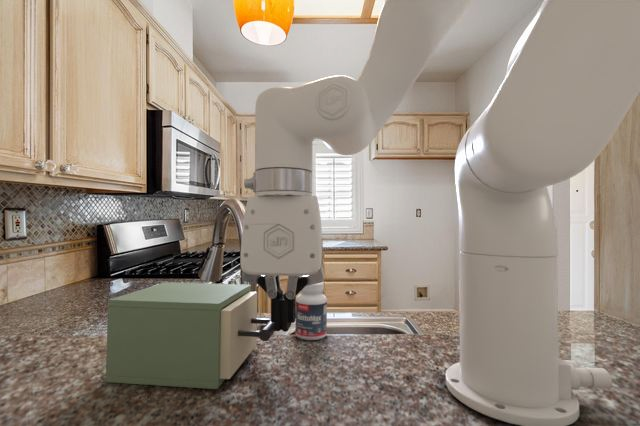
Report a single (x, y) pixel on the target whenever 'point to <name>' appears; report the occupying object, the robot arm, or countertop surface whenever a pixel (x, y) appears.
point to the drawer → (240, 332)
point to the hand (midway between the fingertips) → (283, 327)
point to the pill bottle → (311, 313)
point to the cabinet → (168, 334)
